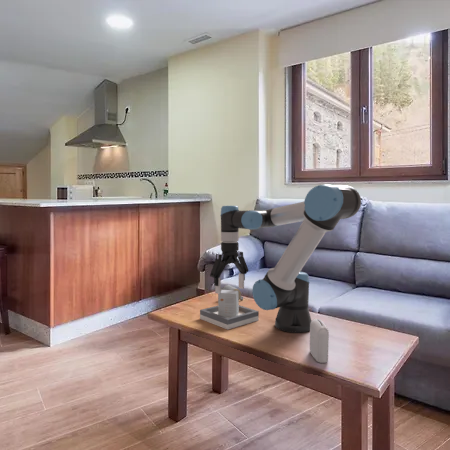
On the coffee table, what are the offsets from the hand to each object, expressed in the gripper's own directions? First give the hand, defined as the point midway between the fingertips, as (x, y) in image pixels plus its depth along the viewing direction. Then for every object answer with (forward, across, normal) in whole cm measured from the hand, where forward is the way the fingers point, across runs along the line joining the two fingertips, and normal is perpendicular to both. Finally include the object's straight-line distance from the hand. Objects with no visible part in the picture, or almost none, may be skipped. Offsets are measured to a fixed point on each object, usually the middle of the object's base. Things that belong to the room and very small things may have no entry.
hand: (230, 290), depth 165 cm
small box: (+11, +1, 0) cm, 11 cm away
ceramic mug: (+13, -23, -22) cm, 34 cm away
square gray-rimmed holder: (+13, 0, -1) cm, 13 cm away
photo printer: (+14, +4, +48) cm, 50 cm away
